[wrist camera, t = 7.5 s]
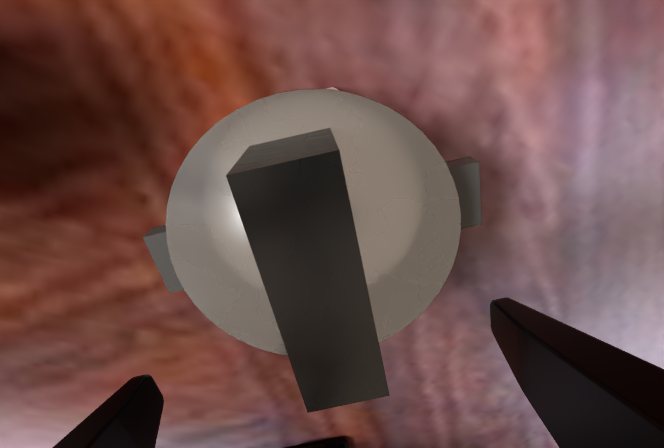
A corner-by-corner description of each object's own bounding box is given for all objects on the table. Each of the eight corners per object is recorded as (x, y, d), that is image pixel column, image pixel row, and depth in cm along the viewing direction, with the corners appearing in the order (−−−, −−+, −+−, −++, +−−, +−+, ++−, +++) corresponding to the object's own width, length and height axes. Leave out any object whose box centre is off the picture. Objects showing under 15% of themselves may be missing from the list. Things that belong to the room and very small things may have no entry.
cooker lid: (460, 314, 18) (513, 399, 13) (228, 363, 18) (201, 463, 13) (439, 55, 13) (512, 45, 8) (124, 128, 13) (27, 157, 9)
